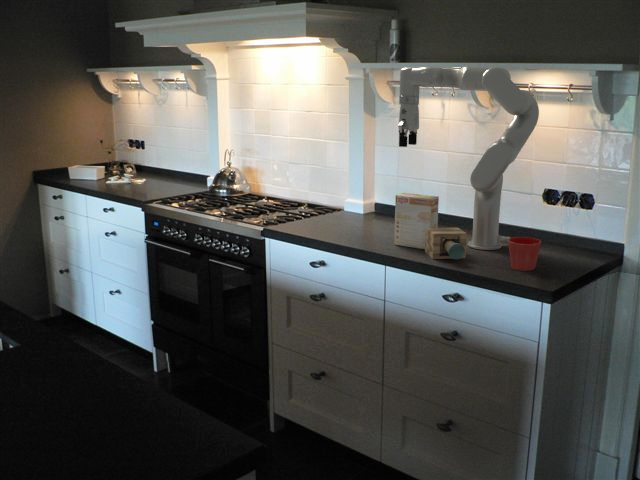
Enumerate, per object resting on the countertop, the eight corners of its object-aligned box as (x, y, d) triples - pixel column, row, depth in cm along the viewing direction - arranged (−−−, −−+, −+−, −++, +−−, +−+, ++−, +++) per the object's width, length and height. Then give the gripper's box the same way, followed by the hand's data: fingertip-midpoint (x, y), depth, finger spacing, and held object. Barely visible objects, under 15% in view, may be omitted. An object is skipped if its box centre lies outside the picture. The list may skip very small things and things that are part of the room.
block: (465, 258, 253) (466, 233, 251) (432, 258, 252) (433, 234, 250) (456, 251, 263) (457, 227, 261) (425, 252, 261) (426, 228, 259)
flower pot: (501, 269, 239) (503, 241, 237) (512, 262, 248) (514, 235, 246) (533, 274, 234) (535, 245, 231) (543, 266, 242) (545, 239, 240)
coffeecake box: (437, 246, 270) (439, 196, 265) (429, 250, 264) (431, 198, 260) (402, 241, 278) (403, 192, 274) (393, 245, 272) (395, 194, 268)
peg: (464, 259, 245) (465, 243, 244) (448, 259, 244) (449, 243, 243) (454, 251, 255) (455, 236, 254) (439, 252, 255) (439, 236, 253)
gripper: (410, 101, 262) (408, 148, 266) (426, 100, 277) (424, 144, 281) (391, 101, 266) (390, 147, 270) (408, 99, 281) (406, 143, 285)
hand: (407, 145), depth 275 cm, fingers open, 9 cm apart
